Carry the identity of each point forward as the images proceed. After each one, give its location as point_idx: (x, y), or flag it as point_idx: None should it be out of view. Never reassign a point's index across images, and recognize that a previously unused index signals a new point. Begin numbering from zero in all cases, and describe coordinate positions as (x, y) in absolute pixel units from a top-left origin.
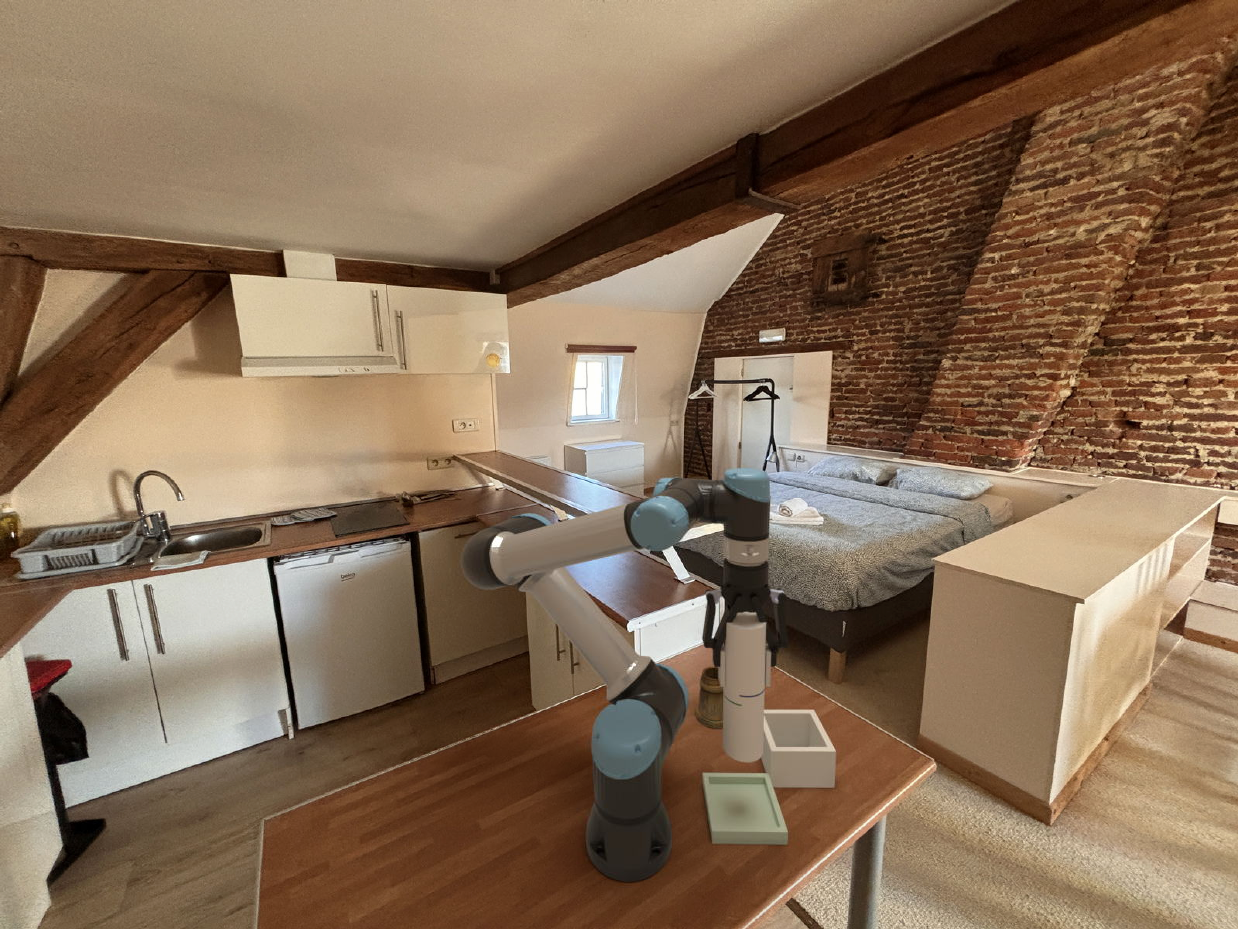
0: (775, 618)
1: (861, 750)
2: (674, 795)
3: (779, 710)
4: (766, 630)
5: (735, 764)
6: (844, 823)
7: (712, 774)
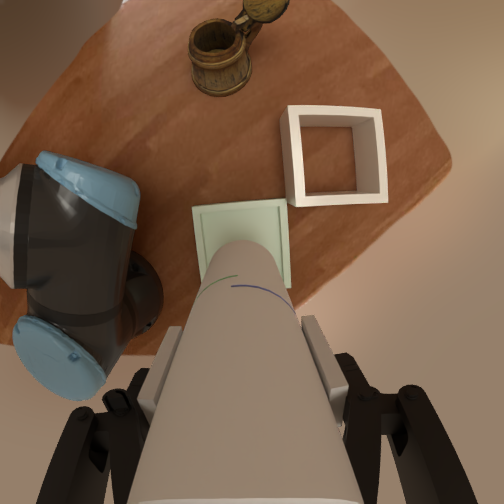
0: (427, 475)
1: (409, 137)
2: (159, 228)
3: (327, 107)
4: None
5: (243, 164)
6: (357, 248)
7: (205, 208)
